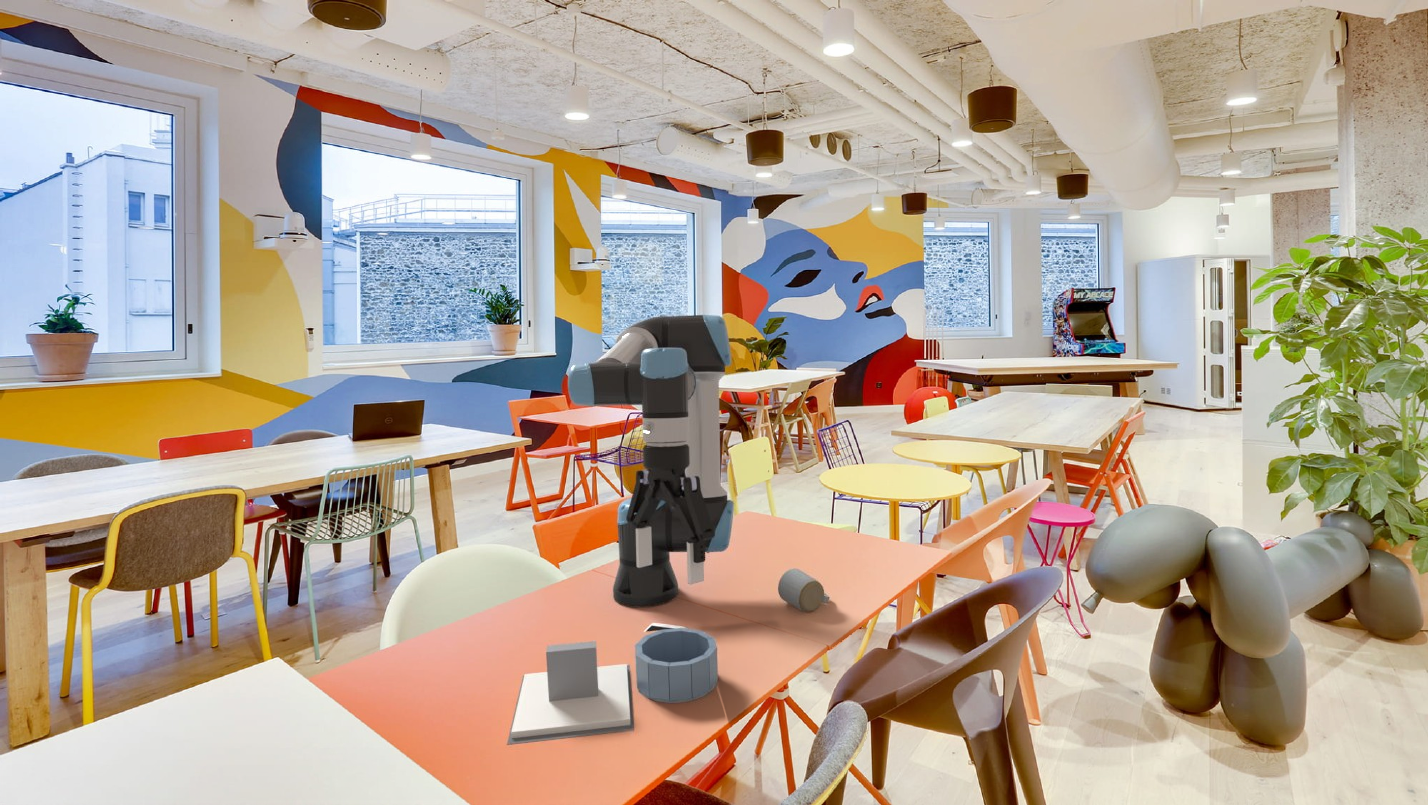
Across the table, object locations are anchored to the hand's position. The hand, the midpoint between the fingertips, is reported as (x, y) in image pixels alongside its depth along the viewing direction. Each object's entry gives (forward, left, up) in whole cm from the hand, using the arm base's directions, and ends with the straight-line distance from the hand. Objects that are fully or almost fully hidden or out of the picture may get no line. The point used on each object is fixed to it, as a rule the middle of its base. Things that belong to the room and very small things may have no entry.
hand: (669, 574), depth 113 cm
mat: (-3, -16, -22) cm, 28 cm away
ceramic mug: (-34, +33, -23) cm, 53 cm away
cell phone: (-23, -2, -23) cm, 33 cm away
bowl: (-6, +1, -22) cm, 23 cm away
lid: (-3, -16, -22) cm, 27 cm away
